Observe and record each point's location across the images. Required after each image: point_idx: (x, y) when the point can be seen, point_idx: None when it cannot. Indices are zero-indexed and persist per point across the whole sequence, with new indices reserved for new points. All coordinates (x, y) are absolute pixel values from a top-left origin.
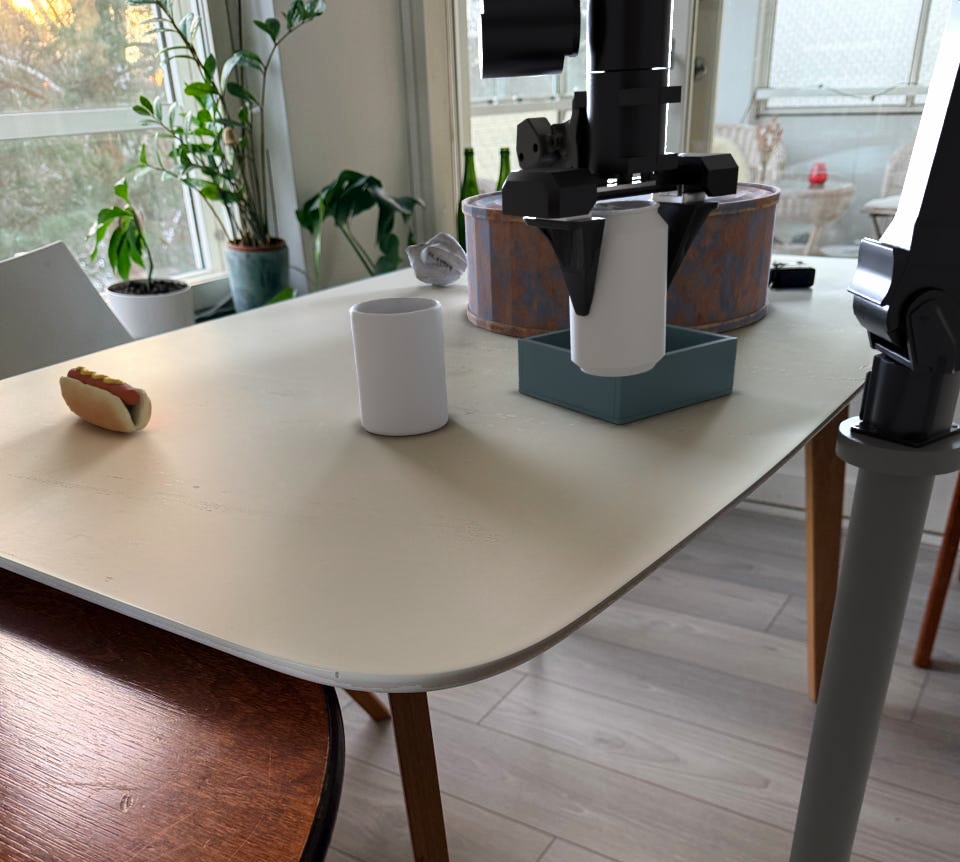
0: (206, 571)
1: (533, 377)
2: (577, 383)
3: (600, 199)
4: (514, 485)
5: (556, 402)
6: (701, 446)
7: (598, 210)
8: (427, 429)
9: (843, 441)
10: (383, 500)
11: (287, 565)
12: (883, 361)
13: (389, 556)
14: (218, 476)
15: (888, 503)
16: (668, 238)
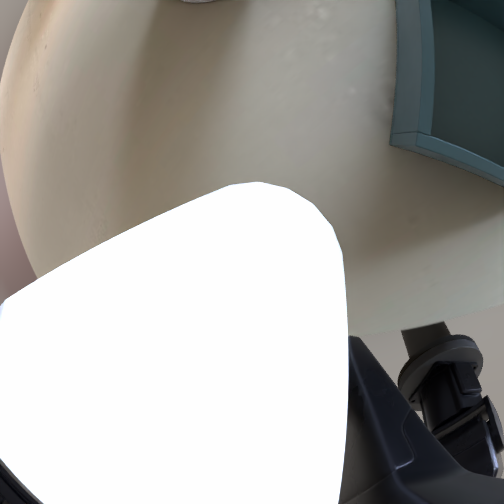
0: (17, 170)
1: None
2: (407, 56)
3: (20, 481)
4: (162, 186)
5: (397, 30)
6: (377, 266)
7: (66, 472)
8: (203, 1)
9: (421, 360)
10: (84, 138)
11: (34, 191)
12: (449, 416)
13: (61, 221)
14: (58, 32)
15: (409, 358)
16: (346, 484)
